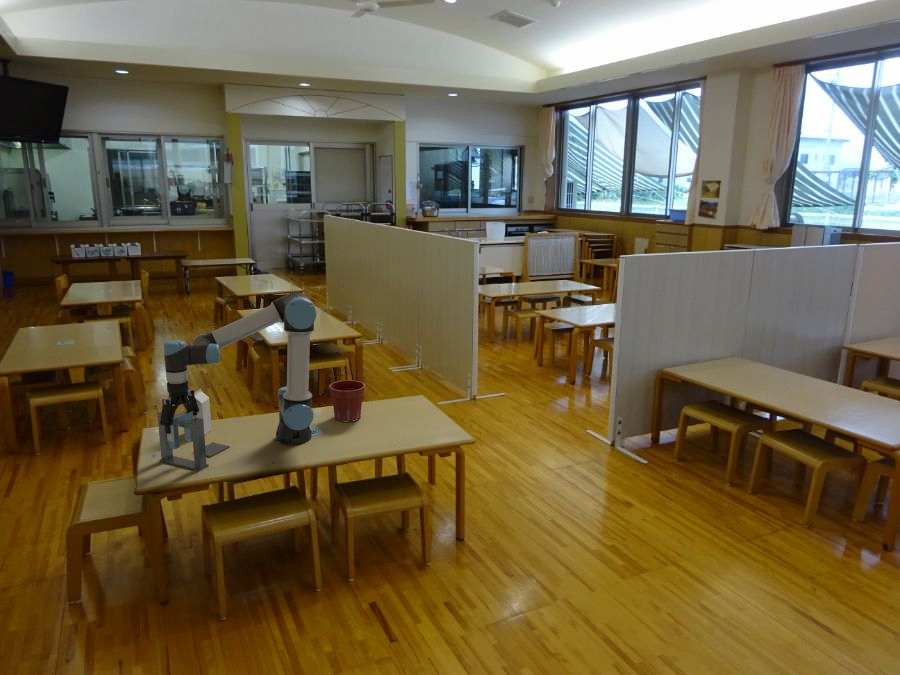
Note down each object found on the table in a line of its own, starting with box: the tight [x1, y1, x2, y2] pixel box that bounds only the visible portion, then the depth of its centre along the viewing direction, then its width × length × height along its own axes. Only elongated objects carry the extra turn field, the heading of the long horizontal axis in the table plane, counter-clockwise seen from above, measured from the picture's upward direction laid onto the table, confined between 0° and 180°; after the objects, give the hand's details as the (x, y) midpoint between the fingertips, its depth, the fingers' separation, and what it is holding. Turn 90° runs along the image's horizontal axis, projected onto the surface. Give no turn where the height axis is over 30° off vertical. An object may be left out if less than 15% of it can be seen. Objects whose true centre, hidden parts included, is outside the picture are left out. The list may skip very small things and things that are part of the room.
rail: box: [157, 410, 210, 472], centre depth 249 cm, size 20×5×20 cm, turn 67°
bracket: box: [169, 409, 193, 450], centre depth 248 cm, size 10×3×12 cm, turn 157°
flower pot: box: [328, 379, 366, 422], centre depth 301 cm, size 16×16×16 cm
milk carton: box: [189, 388, 212, 435], centre depth 279 cm, size 7×7×19 cm
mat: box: [192, 442, 231, 458], centre depth 264 cm, size 9×11×1 cm
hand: (181, 435), depth 248 cm, fingers closed on bracket, 10 cm apart
